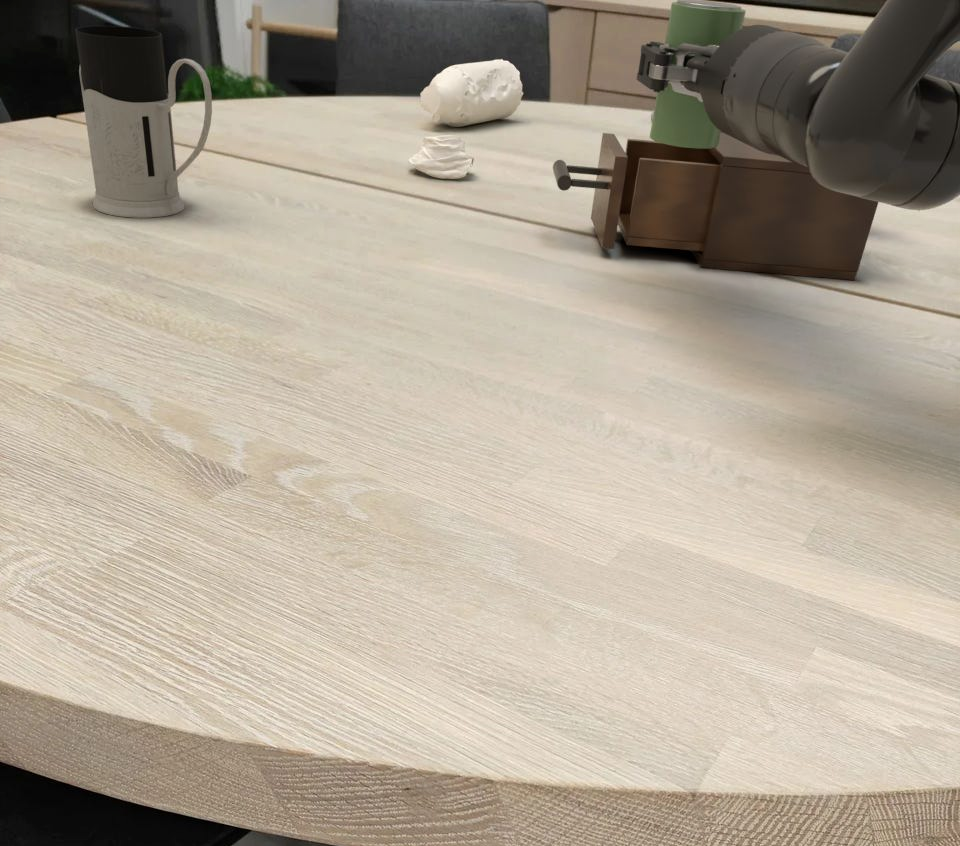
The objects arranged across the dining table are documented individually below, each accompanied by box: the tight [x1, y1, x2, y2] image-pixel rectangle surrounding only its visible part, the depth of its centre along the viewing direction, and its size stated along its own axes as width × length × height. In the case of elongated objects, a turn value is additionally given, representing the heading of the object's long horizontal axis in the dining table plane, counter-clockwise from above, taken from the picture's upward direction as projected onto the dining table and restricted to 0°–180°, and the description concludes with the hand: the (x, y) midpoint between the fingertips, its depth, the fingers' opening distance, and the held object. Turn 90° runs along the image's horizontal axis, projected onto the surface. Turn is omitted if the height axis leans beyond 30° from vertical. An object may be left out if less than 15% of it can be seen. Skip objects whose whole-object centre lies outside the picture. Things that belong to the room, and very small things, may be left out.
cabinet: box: [690, 133, 879, 281], centre depth 100 cm, size 16×13×10 cm
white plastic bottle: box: [419, 58, 525, 128], centre depth 146 cm, size 8×19×8 cm, turn 147°
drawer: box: [552, 132, 721, 251], centre depth 100 cm, size 19×11×8 cm, turn 90°
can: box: [649, 0, 746, 149], centre depth 84 cm, size 6×6×10 cm
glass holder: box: [74, 25, 213, 219], centre depth 94 cm, size 9×14×15 cm, turn 64°
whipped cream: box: [407, 135, 475, 180], centre depth 120 cm, size 8×7×5 cm
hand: (687, 58), depth 85 cm, fingers closed on can, 6 cm apart
